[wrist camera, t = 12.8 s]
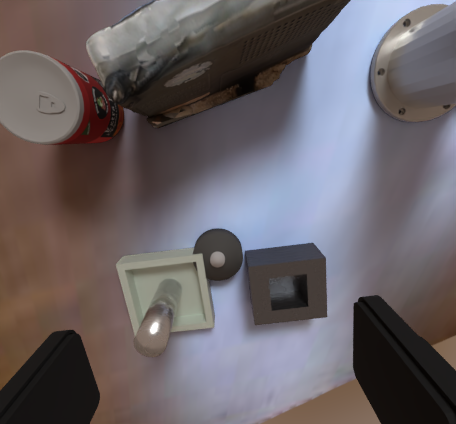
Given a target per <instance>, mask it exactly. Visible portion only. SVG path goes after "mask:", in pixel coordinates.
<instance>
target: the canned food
mask: <svg viewBox="0 0 456 424" xmlns="http://www.w3.org/2000/svg"><path fill="white" fill-rule="evenodd" d="M123 120H124V111H123V107H122V106H120V105H118V104H116V103H115V102H113V101H112V100H111V99H110V98H109V97H108V95H107V93H106V91H105V89H104V87H103V84H102V82H101V81H100V80H98V79H96V78H94V77H92V76H90V75H88V74H86V73H84V72H81V71H79V70H77V69H75V68H73V67H71V66H69V65H67V64H65V63H63V62H61V61H58V60H56V59H54V58H51V57H49V56H47V55H44V54H41V53H37V52H33V51H26V50H23V51H14V52H11V53H8V54H6V55H4V56H3V57H1V58H0V123H1V124H2V125H3V126H4V127H5V128H6V129H7V130H8V131H9V132H11V133H12V134H14V135H15V136H17V137H19V138H21V139H23V140H25V141H28V142H31V143H37V144H44V145H58V144H82V143H101V142H105V141H108V140H110V139H111V138H113V137H114V136H115V135H116V134H117V133H118V132H119V130H120V129H121V127H122V124H123Z"/></svg>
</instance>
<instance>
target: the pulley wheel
mask: <svg viewBox="0 0 456 424" xmlns="http://www.w3.org/2000/svg"><path fill="white" fill-rule="evenodd" d="M201 253H202V254H203V260H204V267H205V273H206V278H207V279H210V280H215V281H220V280H225V279H228V278H230V277H232V276H234V275H235V274H236V273H237V272H238V271H239V269H240V267H241V265H242V262H243V254H242V247H241V244H240V241H239V239H238V238H237V237H236V236H235V235H234V234H233V233H231V232H230V231H228V230H225V229H211V230H208V231H206V232H205V233H203V234H202V235H201V236H200V237H199V238H198V240H197V241H196V244H195V247H194V251H193V254H201ZM193 264H194V267H195V268H196V270H197V264H196V262H193ZM197 271H198V270H197Z"/></svg>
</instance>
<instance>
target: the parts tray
mask: <svg viewBox="0 0 456 424" xmlns="http://www.w3.org/2000/svg"><path fill="white" fill-rule="evenodd" d="M193 251H194V248H186V249H178V250H169V251H161V252H153V253H144V254H136V255H128V256H123V257H122V258H121V259H120V260H119V262H118V263H117V264H116V267H117V270H118V274H119V278H120V282H121V285H122V289H123V293H124V297H125V300H126V304H127V308H128V312H129V315H130V319H131V323H132V327H133V330H134V334H135V336H136V334H137V332H138V329H139V327H140V325H141V323H142V321H143V319H144V316H145V314H146V312H147V310H148V308H149V306H150V303H151V301H152V299H153V297H154V295H155V292H156V290H157V288H158V286H159V284H160V282H161V281H163V280H165V279H174V280H176V281H178V282H179V283H180V284H181V286H182V293H181V296H180V300H179V304H178V307H177V311H176V314H175V318H174V321H173V325H172V328H171V332H178V331H187V330H196V329H205V328H214V322H215V313H214V307H213V301H212V295H211V289H210V282H209V279H207V278H206V273H205V267H204V260H203V254H202V253H201V254H193ZM193 262H196V264H197V270H198V271H197V270H196V268H195V267H194V264H193Z"/></svg>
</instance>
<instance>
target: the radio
mask: <svg viewBox="0 0 456 424" xmlns="http://www.w3.org/2000/svg"><path fill="white" fill-rule="evenodd" d="M349 2H350V0H153V1H151V2H149V3H147V4H145V5H142V6H140V7H138V8H137V9H135V10H134V11H132V12H131V13H130V14H128V15H126V16H125V17H123V18H122V19H121V20H120V21H119V22H117V23H116V24H114V25H112V26H110V27H107V28H104V29H102V30H100V31H98V32H96V33H95V34H93V35H92V36H91V37H90V38H89V39H88V40H87V42H86V48H87V52H88V55H89V57H90V59H91V61H92V63H93V65H94V67H95V69H96V71H97V74H98V76H99V78H100V80H101V82H102V84H103V87H104V89H105V91H106V93H107V95H108V97H109V98H110V99H111V100H112V101H113V102H115V103H116V104H118V105H120V106H122V107H124V108H126V109H130V110H132V111H133V112H135V113H139V114H142V115H144V116H148V118H147V121H148V122H149V123H150V124H151V125H152V126H153V127H154V128H160V127H163V126H165V125H168V124H171V123H173V122H176V121H179V120H181V119H184V118H186V117H189V116H192V115H194V114H197V113H200V112H202V111H205V110H208V109H210V108H213V107H215V106H218V105H221V104H223V103H226V102H229V101H231V100H234V99H237V98H239V97H242V96H244V95H247V94H250V93H252V92H255V91H258V90H260V89H263V88H266V87H268V86H271V85H272V84H273V82H274V81H275V80H277V79H279V76H280V74H281V72H282V70H283V69H284V68H285V66H286V65H288V64H289V63H291V62H292V61H294V60H295V59H298V58H300V57H302V56H305V55H307V54H308V53H309V52H310V50H311V47H312V43H313V42H314V41H315V40H316V39H317V38H318V37H319V35H320V34H321V32H323V31H324V30H325V29H326V28H327V27H328V26H329V24H330V23H331V22H332V21H333V20H334V19H335V18H336V16H337V15H338V14H339V13H340V12H341V10H342V9H343V8H344V7H345V6H346V5H347V4H348V3H349Z"/></svg>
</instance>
